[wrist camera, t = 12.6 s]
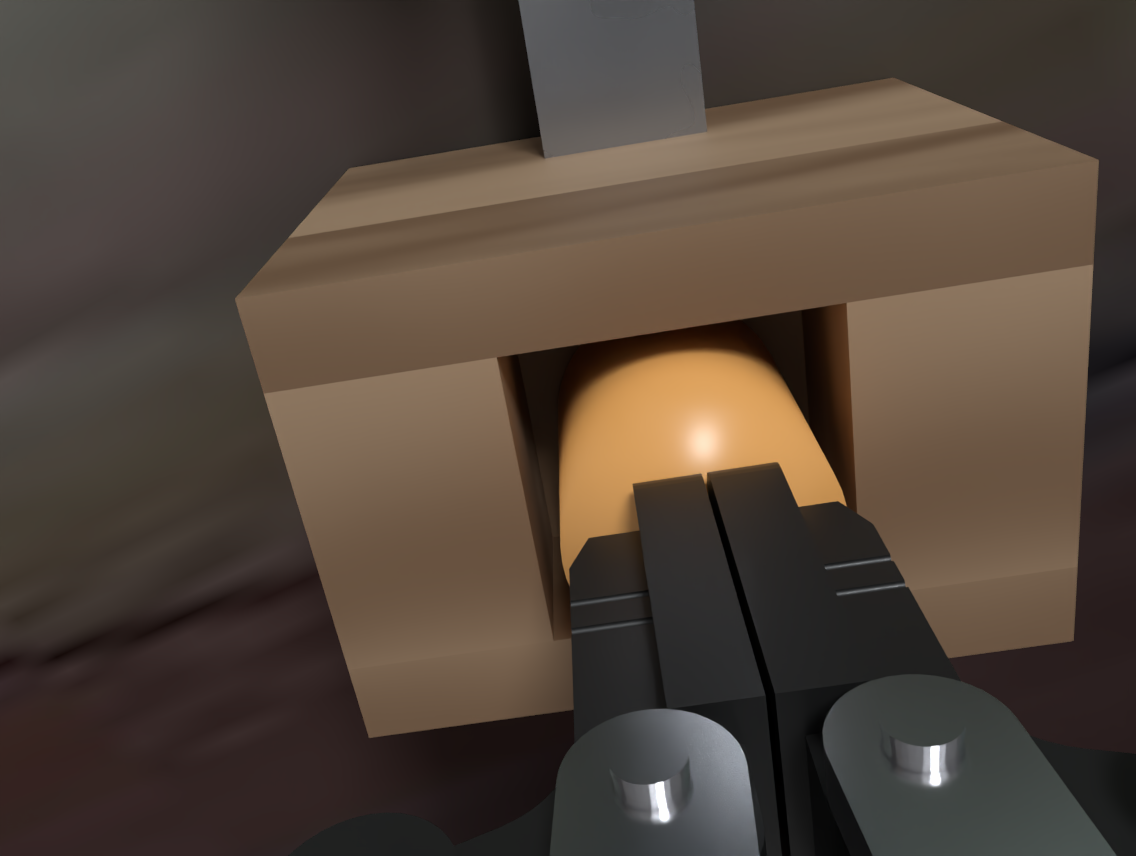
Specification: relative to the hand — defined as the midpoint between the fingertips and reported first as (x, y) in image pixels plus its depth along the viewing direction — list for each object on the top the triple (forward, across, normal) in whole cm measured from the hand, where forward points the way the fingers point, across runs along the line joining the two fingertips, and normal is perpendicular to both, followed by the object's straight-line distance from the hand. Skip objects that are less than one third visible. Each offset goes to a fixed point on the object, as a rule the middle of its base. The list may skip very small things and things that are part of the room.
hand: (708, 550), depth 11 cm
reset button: (+4, 0, 0) cm, 4 cm away
